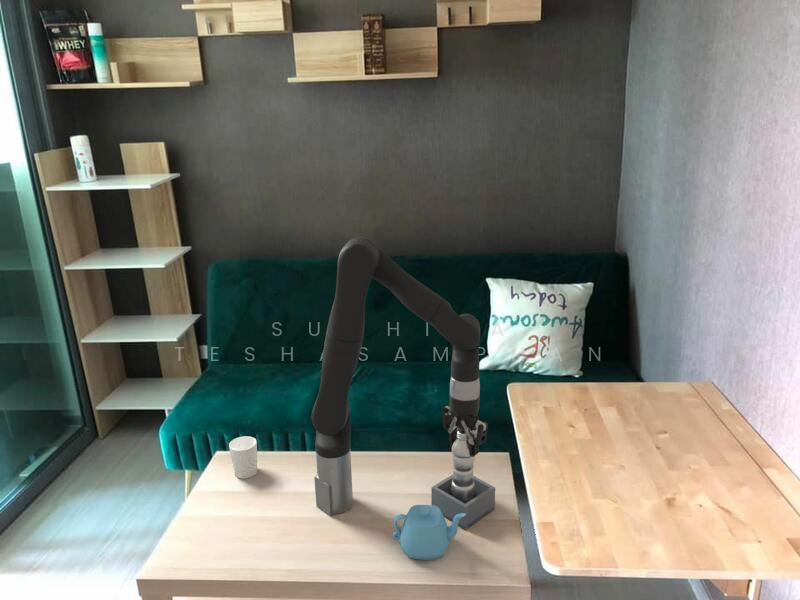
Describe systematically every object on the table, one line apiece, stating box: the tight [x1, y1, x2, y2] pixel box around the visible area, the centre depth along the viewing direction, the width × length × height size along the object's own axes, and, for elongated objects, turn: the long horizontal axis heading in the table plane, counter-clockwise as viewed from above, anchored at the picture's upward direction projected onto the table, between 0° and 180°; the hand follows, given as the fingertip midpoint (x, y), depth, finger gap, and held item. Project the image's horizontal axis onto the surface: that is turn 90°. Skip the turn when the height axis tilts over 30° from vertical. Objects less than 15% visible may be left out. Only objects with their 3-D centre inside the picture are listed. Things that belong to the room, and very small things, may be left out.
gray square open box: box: [431, 474, 496, 531], centre depth 170 cm, size 12×12×7 cm
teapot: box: [392, 504, 466, 561], centre depth 156 cm, size 13×11×18 cm
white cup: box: [228, 435, 258, 480], centre depth 187 cm, size 8×8×10 cm
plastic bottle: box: [451, 428, 476, 500], centre depth 166 cm, size 6×7×20 cm
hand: (463, 450), depth 165 cm, fingers closed on plastic bottle, 6 cm apart
